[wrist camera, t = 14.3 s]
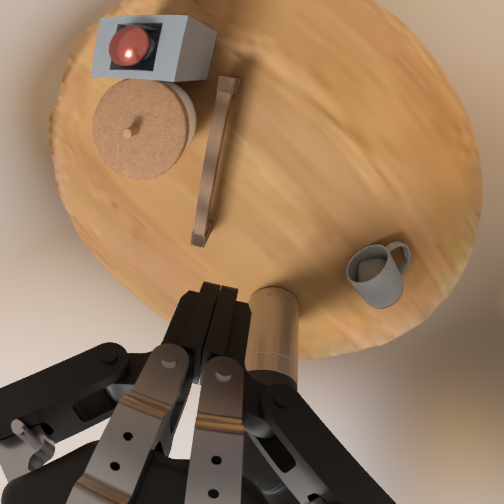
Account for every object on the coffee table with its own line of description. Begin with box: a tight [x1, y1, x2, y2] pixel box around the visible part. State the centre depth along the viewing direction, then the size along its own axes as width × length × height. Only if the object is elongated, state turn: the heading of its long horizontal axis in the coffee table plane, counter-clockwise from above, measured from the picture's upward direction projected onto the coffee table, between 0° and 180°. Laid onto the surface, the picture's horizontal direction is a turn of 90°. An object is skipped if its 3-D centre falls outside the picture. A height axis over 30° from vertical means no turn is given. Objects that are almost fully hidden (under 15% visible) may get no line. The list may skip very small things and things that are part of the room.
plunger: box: [109, 26, 159, 66], centre depth 22 cm, size 4×4×6 cm
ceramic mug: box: [346, 241, 411, 309], centre depth 42 cm, size 11×8×8 cm
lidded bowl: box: [93, 78, 196, 180], centre depth 32 cm, size 13×13×11 cm
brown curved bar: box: [191, 76, 242, 248], centre depth 38 cm, size 24×2×4 cm, turn 167°
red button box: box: [91, 15, 218, 82], centre depth 26 cm, size 8×10×12 cm
